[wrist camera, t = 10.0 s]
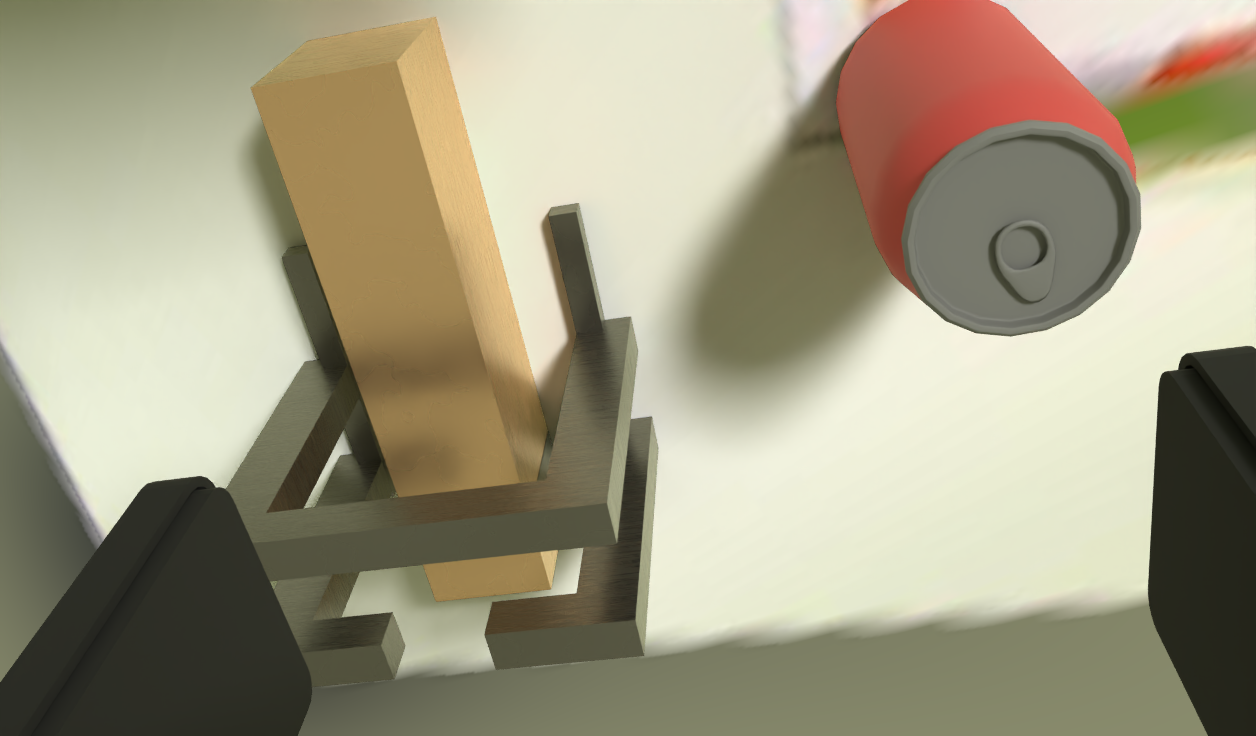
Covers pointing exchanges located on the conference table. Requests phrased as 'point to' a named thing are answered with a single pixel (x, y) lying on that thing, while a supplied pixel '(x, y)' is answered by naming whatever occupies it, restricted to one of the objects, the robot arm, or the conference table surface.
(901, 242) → the beer can
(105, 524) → the conference table surface
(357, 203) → the long brass-colored rectangular prism
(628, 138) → the conference table surface
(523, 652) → the gray arch posts
